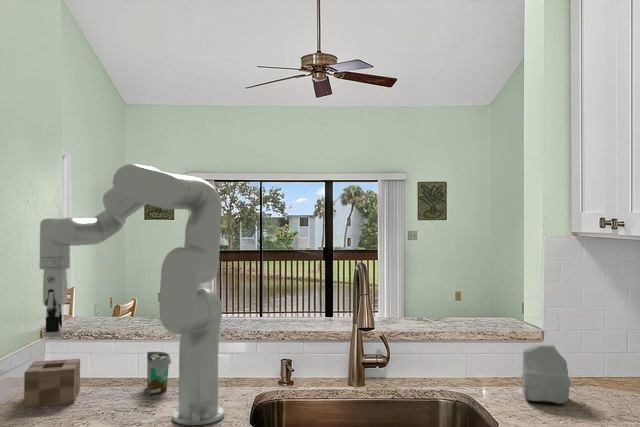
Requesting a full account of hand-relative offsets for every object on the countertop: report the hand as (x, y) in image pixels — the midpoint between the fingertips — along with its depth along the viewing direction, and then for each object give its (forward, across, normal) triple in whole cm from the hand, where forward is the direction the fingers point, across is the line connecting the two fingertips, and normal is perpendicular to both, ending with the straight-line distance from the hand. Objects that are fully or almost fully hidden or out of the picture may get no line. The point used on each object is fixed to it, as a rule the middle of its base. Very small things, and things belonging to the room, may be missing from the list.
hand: (53, 329), depth 154 cm
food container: (+19, 0, -28) cm, 34 cm away
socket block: (+19, 0, 0) cm, 19 cm away
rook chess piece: (+2, 0, 0) cm, 2 cm away
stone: (+19, -38, -129) cm, 136 cm away
